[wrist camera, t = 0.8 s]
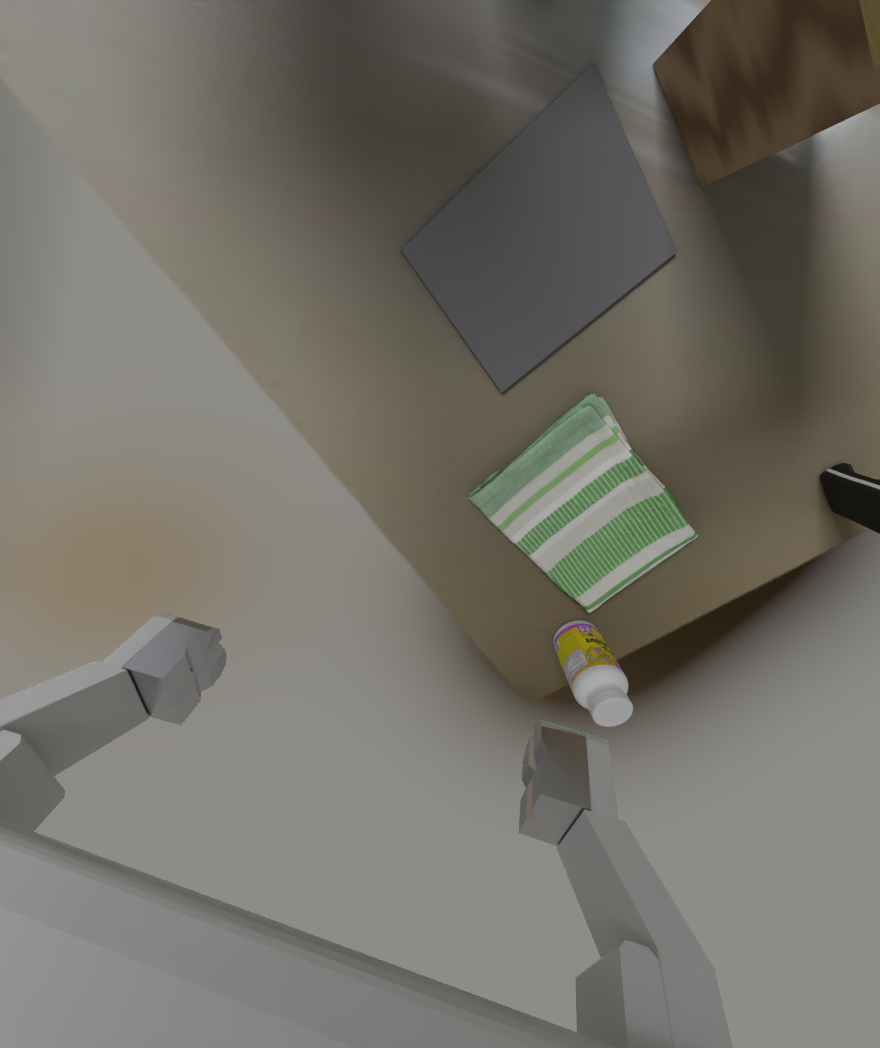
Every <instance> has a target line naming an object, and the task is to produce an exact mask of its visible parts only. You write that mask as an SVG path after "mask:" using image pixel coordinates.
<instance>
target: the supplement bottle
mask: <svg viewBox="0 0 880 1048" xmlns="http://www.w3.org/2000/svg"><path fill="white" fill-rule="evenodd" d="M553 646H554V649H555V652H556V654H557V657H558V659H559V661H560V664H561V666H562V669H563V671H564V673H565V676H566V678H567V680H568V683H569V685H570V688H571V690H572V692H573V694H574V697H575V699H576V700H577V702H578V703H579V704H580V705H581V706H583V707H584V708H586V709H589V712H590V714H591V716H592V718H593V720H594V721H595V722H596V723H597V724H598V725H600V726H604V727H613V726H617V725H619V724H622V723H623V722H625V721H626V720H627V719H629V717H630V716H631V715H632V712H633V705H632V703H631V701H630V700H629V698H628V696H627V695H626V694H627V691H628V681H627V678H626V677H625V674H624V673H623V671H622V669H621V668H620V666H619V664H618V663H617V661H616V659H615V657H614V656H613V654H612V652H611V651H610V649H609V647H608V645H607V644H606V642H605V640H604V638H603V637H602V635H601V633H600V632H599V630H598V629H597V628H596V626H594V625H593V624H592V623H589V622H587V621H581V620H579V621H572V622H569V623H567V624H565V625H563V626H562V627H561V628H560V629H559V630H558V631H557V632H556V634H555V636H554V639H553Z"/></svg>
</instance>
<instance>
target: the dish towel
mask: <svg viewBox="0 0 880 1048" xmlns="http://www.w3.org/2000/svg"><path fill="white" fill-rule="evenodd" d="M499 470H500V469H499ZM499 470H498V471H499ZM498 471H496V472H495V473H494V474H492V475H491V476H490V477H489V478H488V479H487V480H485V481H484V483H483V484H485V483H488V482H490V483H489V484H488V485H486V486H485V487H484V488H483V489H482V488H481V486H482V485H483V484H482V485H480V486H479V487H477V488H476V489H475V490H474V491H473V492H472V493H471V494H470V495H469V496H468V499H469V500H470V501H471V502H472V503H473V504H474V505H475V506H477V507H478V508H479V509H480V510H481V511H482V513H483V514H484V515H485V516H486V517H487V518H488V519H489V520H490V521H491V522H492V523H493V524H494V525H495V526H496V527H497V528H498V529H499V530H500V531H501V532H502V533H503V534H504V535H505V536H507V537H508V538H509V540H511V541H512V542H513V543H514V544H515V545H516V546H517V547H518V548H519V549H520V550H522V551H523V552H524V553H525V554H526V555H528V556H529V557H530V559H531V560H532V561H533V562H534V563H535V564H536V565H537V566H539V567H540V568H541V569H542V570H543V572H544V573H545V574H546V575H547V576H548V577H549V578H550V579H551V580H552V581H553V582H555V583H556V584H557V585H558V586H559V587H560V588H561V589H562V590H563V591H564V592H566V593H567V594H568V595H569V596H570V597H572V598H574V599H575V600H576V601H577V602H579V603H580V604H581V605H582V606H583V607H584V608H585V609H586V611H587V612H588V613H590V612H592V611H594V610H595V609H597V608H598V607H599V606H600V605H602V604H603V603H604V602H605V601H607V600H608V599H609V598H611V597H612V596H613V595H615V594H616V593H618V592H619V591H621V590H622V589H624V588H625V587H626V586H628V585H629V584H630V583H632V582H633V581H635V580H636V579H638V578H639V577H641V576H642V575H643V574H645V573H646V572H648V571H649V570H651V569H652V568H653V567H655V566H656V565H658V564H659V563H660V562H662V561H663V560H665V559H666V558H668V557H669V556H671V555H672V554H674V553H675V552H677V551H678V550H680V549H681V548H682V547H684V546H685V545H686V544H688V543H689V542H691V541H692V540H694V539H695V538H697V537H698V535H697V534H696V533H695V532H694V530H693V529H692V527H691V526H690V525H689V524H688V522H687V521H686V519H685V518H684V517H683V515H682V514H681V512H680V510H679V508H678V505H677V504H676V502H675V500H674V498H673V497H672V495H671V494H670V493H669V492H668V490H667V489H666V487H665V486H664V485H663V484H662V483H661V482H660V481H659V480H658V479H657V478H656V477H655V476H654V475H653V474H652V473H651V472H650V471H649V469H648V468H647V467H646V466H645V465H644V463H643V462H642V461H641V459H640V458H639V457H638V455H637V454H636V453H635V452H634V451H633V450H632V449H631V447H630V445H629V443H628V441H627V439H626V437H625V435H624V433H623V431H622V429H621V427H620V426H619V424H618V423H617V421H616V420H615V418H614V416H613V414H612V412H611V410H610V408H609V407H608V405H607V403H606V402H605V400H604V399H603V397H597V396H596V394H594V393H592V394H590V395H589V396H587V397H584V399H583V400H582V401H581V402H579V403H578V404H577V405H575V406H574V407H573V408H572V409H571V410H569V411H568V412H567V413H566V414H565V415H564V416H563V417H561V418H560V419H559V420H558V421H557V422H556V423H554V424H553V425H552V426H551V427H550V428H549V429H548V430H547V431H546V432H545V433H544V434H542V435H541V436H540V437H539V438H538V439H537V440H536V441H535V442H534V443H533V444H532V445H530V446H529V447H528V448H527V449H526V450H525V451H524V452H523V453H522V454H521V455H520V456H518V457H517V458H516V459H515V460H514V461H513V462H512V463H511V464H510V465H509V466H508V467H507V468H506V469H505V470H504V471H503V472H502V473H500V474H499V475H498V476H497V477H496V478H495V476H496V474H497V473H498ZM494 478H495V479H494Z"/></svg>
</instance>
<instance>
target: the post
mask: <svg viewBox="0 0 880 1048" xmlns="http://www.w3.org/2000/svg"><path fill="white" fill-rule="evenodd" d="M653 66H654V69H655V71H656V74H657V76H658V79H659V81H660V84H661V86H662V89H663V91H664V94H665V96H666V99H667V101H668V104H669V106H670V109H671V111H672V114H673V116H674V119H675V121H676V124H677V126H678V129H679V132H680V134H681V137H682V139H683V142H684V144H685V147H686V149H687V152H688V154H689V157H690V159H691V162H692V164H693V167H694V169H695V172H696V174H697V177H698V179H699V182H700V184H701V187H702V188H703V187H705V186H707V185H709V184H711V183H713V182H715V181H717V180H719V179H722V178H724V177H726V176H728V175H730V174H732V173H734V172H736V171H738V170H741V169H743V168H745V167H747V166H749V165H751V164H753V163H755V162H757V161H760V160H762V159H764V158H766V157H768V156H770V155H772V154H774V153H776V152H778V151H781V150H783V149H785V148H787V147H789V146H791V145H793V144H795V143H797V142H800V141H802V140H804V139H806V138H808V137H810V136H812V135H814V134H816V133H819V132H821V131H823V130H825V129H827V128H829V127H831V126H833V125H835V124H837V123H840V122H842V121H844V120H846V119H848V118H850V117H852V116H854V115H856V114H859V113H861V112H863V111H865V110H867V109H869V108H871V107H873V106H875V105H878V104H880V65H878V66H876V67H874V65H873V61H872V56H871V52H870V47H869V43H868V38H867V34H866V29H865V25H864V20H863V15H862V11H861V6H860V2H859V0H711V1H710V2H709V3H708V4H707V6H706V7H705V8H704V9H703V10H702V11H701V12H700V13H699V14H698V15H697V17H696V18H695V19H694V20H693V21H692V22H691V23H690V24H689V25H688V26H687V27H686V29H685V30H684V31H683V32H682V33H681V34H680V35H679V36H678V37H677V38H676V40H675V41H674V42H673V43H672V44H671V45H670V46H669V47H668V48H667V49H666V50H665V52H664V53H663V54H662V55H661V56H660V57H659V58H658V59H657V60H656V61H655V63H654V64H653Z"/></svg>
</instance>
